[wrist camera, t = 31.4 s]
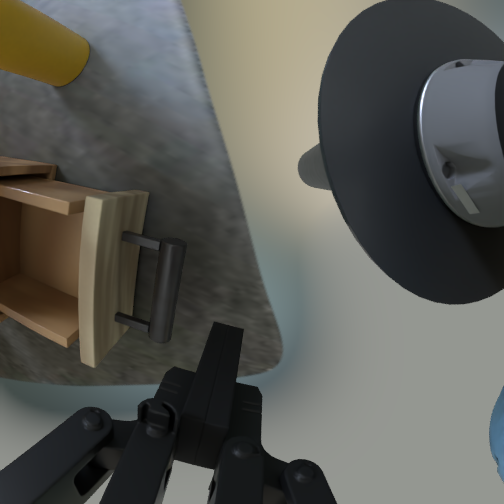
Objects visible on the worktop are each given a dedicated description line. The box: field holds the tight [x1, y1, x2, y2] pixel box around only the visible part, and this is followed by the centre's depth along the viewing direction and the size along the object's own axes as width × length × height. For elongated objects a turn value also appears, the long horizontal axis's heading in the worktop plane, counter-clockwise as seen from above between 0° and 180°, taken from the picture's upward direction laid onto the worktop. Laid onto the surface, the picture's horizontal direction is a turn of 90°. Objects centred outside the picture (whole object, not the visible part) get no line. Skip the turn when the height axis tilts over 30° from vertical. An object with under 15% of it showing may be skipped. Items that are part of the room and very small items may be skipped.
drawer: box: [0, 175, 187, 368], centre depth 18 cm, size 18×11×7 cm, turn 76°
